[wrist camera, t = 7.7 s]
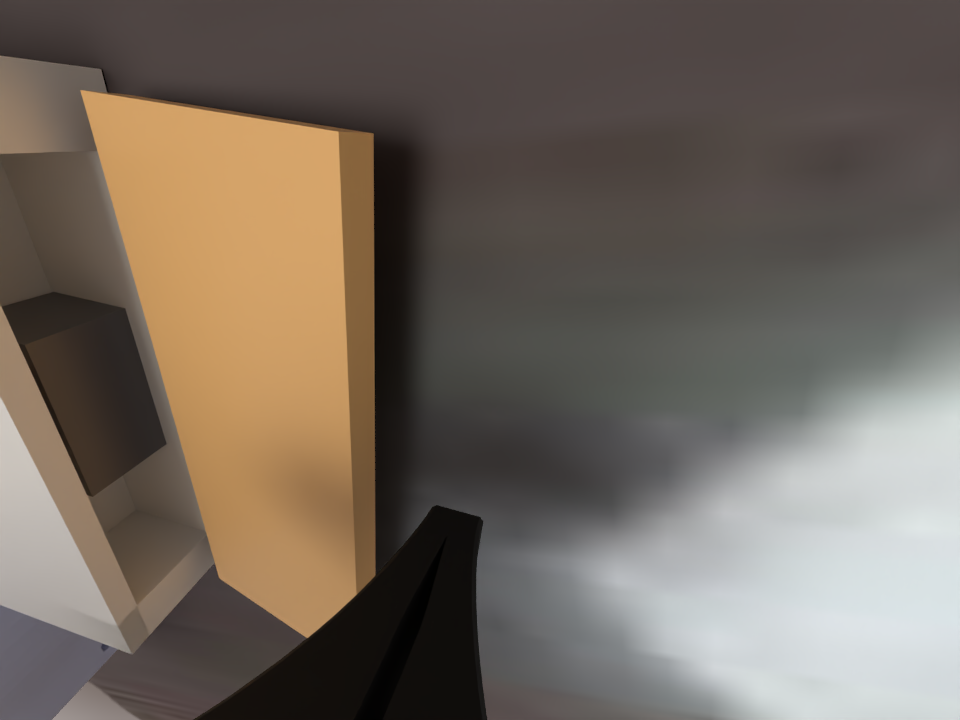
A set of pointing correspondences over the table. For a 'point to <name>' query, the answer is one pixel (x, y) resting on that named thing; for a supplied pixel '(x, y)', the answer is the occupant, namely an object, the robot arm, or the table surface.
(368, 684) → the robot arm
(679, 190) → the table surface
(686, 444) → the table surface
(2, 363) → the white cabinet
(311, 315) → the door
